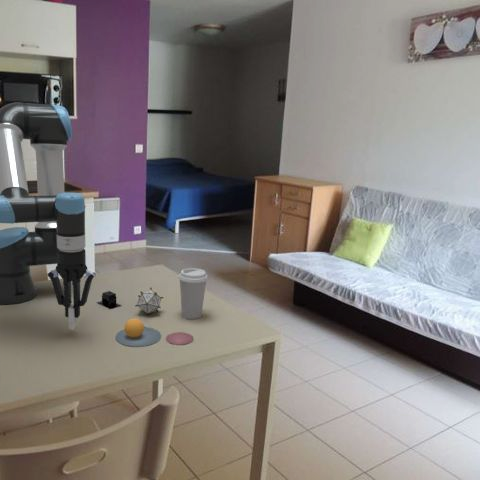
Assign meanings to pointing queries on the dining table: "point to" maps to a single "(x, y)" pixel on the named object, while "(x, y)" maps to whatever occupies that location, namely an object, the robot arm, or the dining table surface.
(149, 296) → the game die
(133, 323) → the ball
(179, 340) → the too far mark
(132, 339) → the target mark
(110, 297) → the black boxy piece
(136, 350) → the dining table surface
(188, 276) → the coffee cup
